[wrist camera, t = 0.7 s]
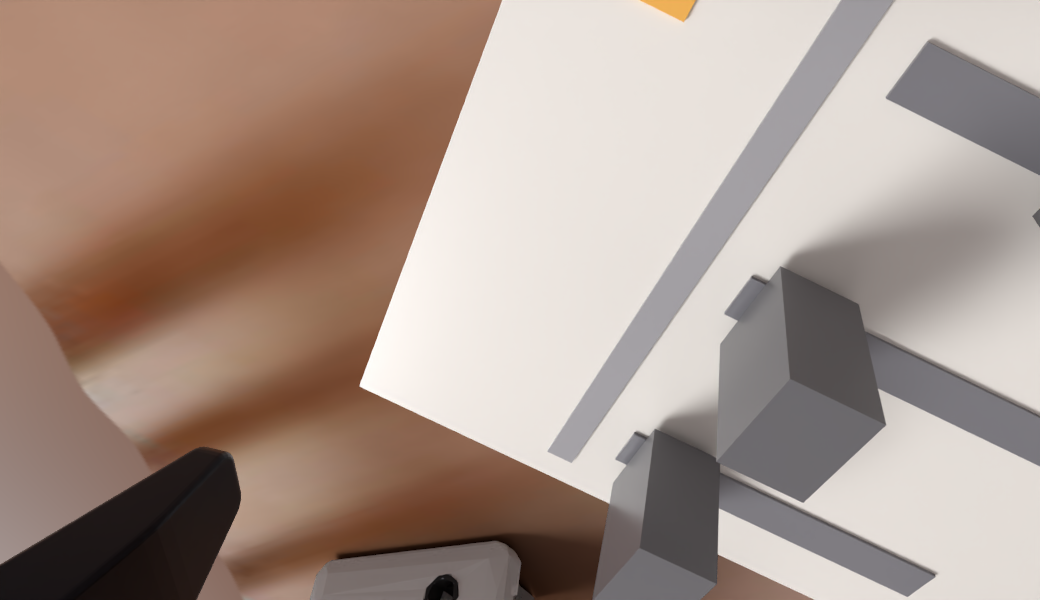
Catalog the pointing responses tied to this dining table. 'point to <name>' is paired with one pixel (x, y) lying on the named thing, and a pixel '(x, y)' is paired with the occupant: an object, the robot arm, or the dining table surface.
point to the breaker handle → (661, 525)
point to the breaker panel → (749, 264)
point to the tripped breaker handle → (1037, 217)
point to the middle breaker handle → (796, 387)
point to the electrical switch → (425, 575)
